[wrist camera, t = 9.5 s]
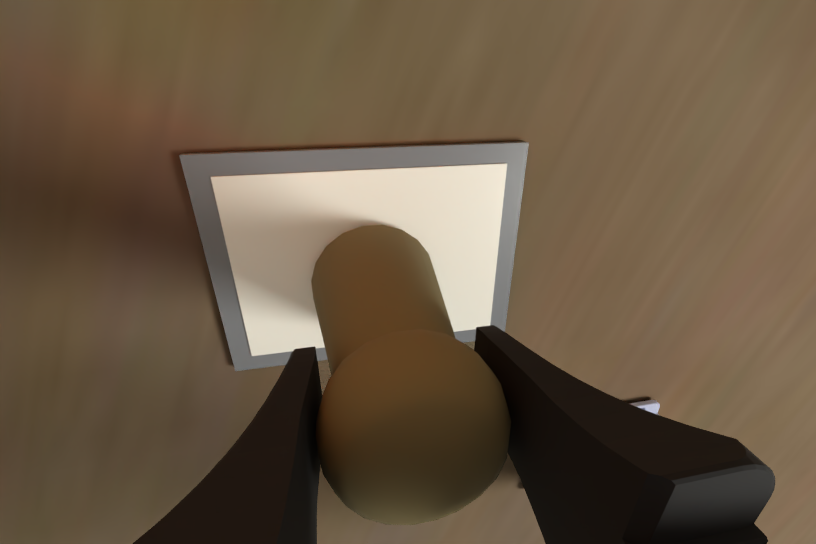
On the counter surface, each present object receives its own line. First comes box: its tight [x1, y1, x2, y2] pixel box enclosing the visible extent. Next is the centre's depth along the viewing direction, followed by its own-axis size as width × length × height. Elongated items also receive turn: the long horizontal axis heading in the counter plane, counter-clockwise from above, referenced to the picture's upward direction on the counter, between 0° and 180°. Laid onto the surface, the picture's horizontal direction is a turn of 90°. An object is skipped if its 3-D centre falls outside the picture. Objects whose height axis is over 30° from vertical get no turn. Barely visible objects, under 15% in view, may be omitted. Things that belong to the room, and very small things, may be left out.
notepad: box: [179, 141, 529, 371], centre depth 19 cm, size 15×11×1 cm
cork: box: [311, 225, 511, 525], centre depth 14 cm, size 6×6×11 cm
